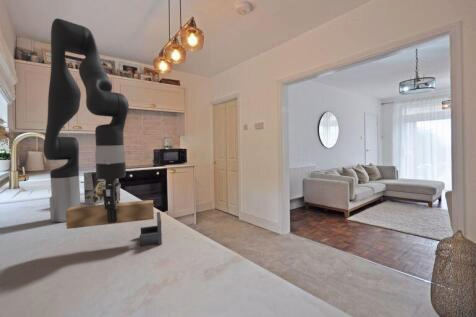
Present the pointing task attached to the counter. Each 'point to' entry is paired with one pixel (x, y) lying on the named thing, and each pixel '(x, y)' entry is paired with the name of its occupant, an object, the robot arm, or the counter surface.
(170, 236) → the counter surface
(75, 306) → the counter surface
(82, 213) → the rail
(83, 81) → the robot arm
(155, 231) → the cup bracket
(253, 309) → the counter surface
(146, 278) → the counter surface
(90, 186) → the coffee box
